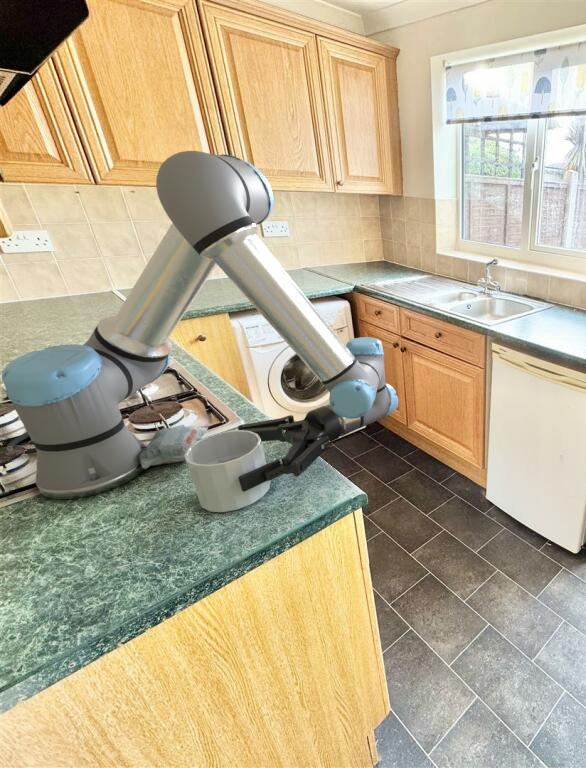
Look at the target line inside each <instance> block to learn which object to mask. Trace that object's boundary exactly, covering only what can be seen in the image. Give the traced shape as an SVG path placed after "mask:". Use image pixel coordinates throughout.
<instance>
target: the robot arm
mask: <svg viewBox="0 0 586 768" xmlns="http://www.w3.org/2000/svg"><path fill="white" fill-rule="evenodd" d="M155 180H156V181H155V187H156V193H157V196H158V199H159V202H160V205H161V206H162V208H163V210H164V212H165V213H166V215H167V217H168V219H169V220H170V222H171V225H170V226H169V228H168V229H167V231H166V233H165V234H164V236H163V238H162V239H161V241H160V242H159V244H158V245H157V247H156V249H155V251H154V252H153V254H152V256H151V257H150V259H149V260H148V262H147V264H146V265H145V267H144V269H143V270H142V272H141V274H140V275H139V277H138V278H137V280H136V282H135V284H134V285H133V287H132V288H131V290H130V292H129V293H128V295H127V297H126V298H125V300H124V301H123V303H122V305H121V306H120V308H119V310H118V311H117V313H116V314H115V315H111V316H106V317H103V318H102V319H101V320H99V322H98V323H97V325H96V327H95V328H94V330H93V332H92V333H91V335H90V336H89V338H88V340H87V341H86V342H85V343H84V344H74V343H73V344H61V345H54V346H48V347H45V348H44V349H42V350H34V351H30V352H27V353H25V354H22V355H20V356H18V357H17V358H15V359H14V360H12V361H10V362H9V363H8V364H7V365H5V367H4V368H3V370H2V372H1V380H2V383H3V386H4V387H5V393H6V396H7V399H9V400H10V402H11V404H12V406H13V408H14V410H15V411H16V413H17V415H18V417H19V419H20V422H21V423H22V425H23V426H24V429H25V431H26V432H24V433H22V434H21V435H18V436H17V437H16V438H14V439H12V440H11V441H9V442H8V443H7V444H6V446H14V447H16V446H17V445H18V444H19V443H21V442H23V441H24V440H26V439H27V438H30V440H31V442H32V444H33V446H34V447H31V448H30V447H29V448H25V449H26V450H27V451H25V454H24V455H29V454H36V475H35V485H36V487H37V489H38V491H39V493H40V494H41V495H42V496H44V497H46V498H49V499H55V500H71V499H72V500H73V499H79V498H84V497H89V496H93V495H96V494H97V495H98V494H100V493H103V492H107V491H109V490H112V489H114V488H116V487H120V486H121V485H123V484H125V483H127V482H129V481H132V480H133V479H134V478H136V477H138V476H139V475H140V474H142V473H143V472H144V471H145V470H146V469H144V468H143V467H142V466H141V463H140V461H139V457H140V454H141V453H142V452H143V451H144V449H145V448H146V447H147V446H146V445H145V444H144V443H143V442H142V441H141V440H140V439H139V438H138V437H137V436H136V435H135V434H134V433H133V432H132V430H130V429H129V428H128V427H127V426H126V424H125V421H124V419H123V415H122V413H121V410H120V408H119V404H121V403H122V402H124V401H125V400H126V399H128V398H129V397H130V396H132V395H134V394H135V393H137V392H138V391H140V390H141V389H143V388H145V387H146V386H147V385H150V384H152V383H154V382H155V381H156V380H158V379H159V378H160V377H161V376H162V375H163V374H164V372H165V371H167V369H168V367H169V365H170V363H171V352H172V350H173V342H172V340H171V339H170V337H171V335H172V334H173V332H174V331H175V329H176V328H177V326H178V325H179V323H180V321H181V320H182V319H183V318H184V316H185V314H186V312H187V311H188V309H189V308H190V307H191V305H192V304H193V302H194V300H195V299H196V297H197V296H198V294H199V293H200V291H201V290H202V288H203V287H204V285H205V284H206V282H207V281H208V279H209V278H210V276H211V274H212V273H213V271H214V270H215V269H216V267H217V266H218V267H219V268H220V269H221V270H222V272H223V273H224V274H225V275H226V276H227V277H228V279H229V280H230V281H231V282H232V283H233V284H234V285H235V286H236V288H237V289H238V290H239V291H240V292H241V293H242V295H244V296H245V297H246V299H247V300H248V301H249V302H250V304H252V306H253V307H254V308H255V309H256V310H257V311H258V313H260V314H261V316H262V317H263V318H264V319H265V320H266V321H267V322H268V323H269V325H270V326H271V328H273V329H274V331H276V333H277V334H278V335H279V336H280V337H281V338H282V339H283V341H285V343H286V344H287V345H288V346H289V347H290V348H291V349H292V351H293V352H294V353H295V354H296V355H297V356H298V357H299V359H300V360H301V361H302V362H303V363H304V364H305V365H306V366H307V367H308V369H309V370H310V371H311V372H312V373H313V374H314V375H315V377H316V378H317V379H318V380H319V382H320V383H322V385H323V386H324V387H325V389H326V390H327V391H328V392H329V397H328V398H329V399H328V400H329V403H327V404H325V405H322V406H320V407H316V408H314V409H311V410H309V411H308V412H307V413H306V414H305V417H304V418H303V419H301V420H295V418H294V415H292V414H290V415H286V416H282V417H280V418H274V419H269V420H268V419H267V420H262V421H257V422H251V423H244V424H239V425H237V430H243V431H251V432H254V433H256V434H258V435H259V437H260V438H261V441H262V442H273V441H279V442H281V443H288V444H290V445H291V447H290V448H289V450H288V452H287V453H286V455H285V456H283V457H282V456H281V457H280V459H281V460H280V459H279V458H276V459H275V460H272V461H270V462H268V463H267V464H266V465H264V466H261V467H259V468H257V469H255V470H253V471H250V472H248V473H246V474H244V475H242V476H239V477H238V478H239V482H240V485H241V489H242V491H243V492H245V491H247V490H249V489H251V488H253V487H255V486H258V485H260V484H262V483H264V482H266V481H270V480H271V481H272V480H274V479H276V478H278V477H280V476H282V475H290V474H292V475H293V477H299V476H301V475H302V474H303V473H304V472H305V471H306V470H307V469H308V468H309V467H311V465H312V464H313V463H314V462H315V461H316V460H317V459H318V458H319V457H320V456H321V455H322V454H324V453H325V452H327V451H329V450H330V449H331V442H334V441H336V440H338V439H339V438H340V437H344V436H346V435H348V434H350V433H352V432H354V431H357V430H359V429H361V428H364V427H366V426H368V425H370V424H372V423H374V422H377V421H379V420H383V419H384V418H386V417H387V416H389V415H391V414H392V413H394V412H395V411H396V410H397V409H398V407H399V396H397V392H396V391H397V390H395V388H394V387H393V386H392V385H390V384H389V383H387V382H386V373H385V372H386V370H385V353H384V347H383V342H382V341H381V340H380V339H379V338H376V337H370V336H364V337H363V336H361V337H355V338H351V339H350V340H349V341H347V342H346V344H345V343H344V342H343V340H342V339H341V338H340V336H339V335H338V334H337V332H335V330H334V329H333V328H332V327H331V326H330V324H329V323H328V322H327V320H325V319H326V318H324V316H322V314H321V313H320V312H319V311H318V310H317V308H316V307H315V306H314V305H313V303H312V302H311V301H310V299H309V298H308V297H307V296H306V295H305V293H304V292H303V290H302V289H301V288H300V287H299V286H298V285H297V283H296V282H295V281H294V280H293V279H292V277H291V276H290V275H289V273H288V272H287V271H286V269H285V268H284V267H283V266H282V265H281V263H280V262H279V261H278V260H277V258H276V257H275V256H274V255H273V253H272V252H271V251H270V250H269V248H268V247H267V246H266V245H265V244H264V242H263V241H262V239H260V237H259V236H258V225H261V224H263V223H264V222H265V221H266V220H267V219H268V218H269V216H270V215H271V214H272V212H273V209H274V205H275V203H274V202H275V200H274V199H275V198H274V193H273V190H272V185H270V182H269V181H268V179H267V178H266V176H265V175H264V173H262V171H261V170H260V169H259V168H257V167H256V166H255V165H253V164H252V163H250V162H249V161H246V160H244V159H241V158H239V157H237V156H234V155H231V154H225V153H224V154H214V153H208V152H205V151H199V150H185V151H180V152H179V151H178V152H177V153H174V154H172V155H171V156H169V157H167V158H166V159H165V160H164V161H163V162H162V163H161V165H160V166H159V168H158V171H157V175H156V179H155Z"/></svg>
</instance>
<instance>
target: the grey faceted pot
mask: <svg viewBox="0 0 586 768" xmlns="http://www.w3.org/2000/svg"><path fill="white" fill-rule="evenodd" d="M184 457H185V460H186V461H185V463H186V466H187V468H188V469H187V470H188V472H189V475H190V477H191V478H190V479H191V481H192V484H193V486H194V487H193V488H194V490H195V493H196V495H197V499H198V502H199V505H200V507H201V508H202V509H204V510H206V511H208V512H213V513H225V512H231V511H237V510H240V509H243V508H246V507H247V506H251V505H253V504H254V503H255V502H257V501H259V500H260V499H262V498H263V497H264V496H265V494H267V492H269V490H270V487H271V483H272V480H270V481H266V482H264V483H262V484H260V485H258V486H255V487H253V488H251V489H249V490H247V491H245V492H243V491H242V489H241V485H240V482H239V478H238V477H239V476H242V475H244V474H246V473H248V472H250V471H253V470H255V469H257V468H259V467H261V466H264V465H266V464H268V463H267V459H266V455H265V450H264V446H263V441H261V438H260V437H259V435H258V434H256V433H254V432H251V431H243V430H238V429H235V430H228V431H227V430H226V431H222V432H218V433H214V434H210V435H208V436H206V437H204V438H201V439H200V440H199V441H197V442H196V443H194V444H193V445H192V446H191V447H189V448H188V449H187V451H186V453H185V455H184Z"/></svg>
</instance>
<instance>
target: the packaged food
mask: <svg viewBox="0 0 586 768" xmlns="http://www.w3.org/2000/svg"><path fill="white" fill-rule="evenodd" d="M207 430H209V427H208V425H202V426H199V427H198V426H185V425H184V424H180V425H177V426H172V427H168V428H164V429H159V430H157V431H156V432H154V434H153V436H152V438H151V440H150V441H149V443H148V444H147V446H146V448H145V449H144V451H143V452H142V453H141V454H140V457H139V461H140V463H141V466H142V467H143V468H144V469H145V470H146V469H149V467H151V466H160V465H167V464H173V463H180V462H186V460H185V457H184V455H185V453H186V451H187V449H188V448H189V447H191V446H192V445H193V444H194V443H196V442H197V441H199V440H201V439H203V437H204V436H205V435H204V434H205V433H206V432H207Z"/></svg>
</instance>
